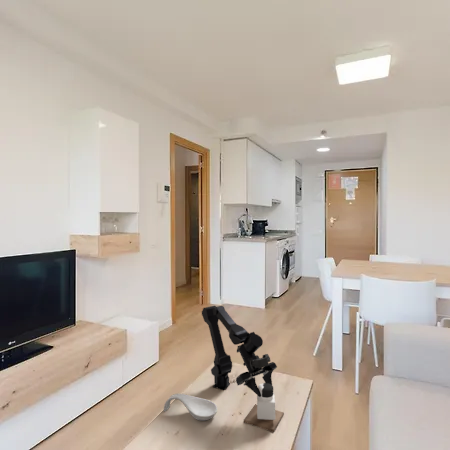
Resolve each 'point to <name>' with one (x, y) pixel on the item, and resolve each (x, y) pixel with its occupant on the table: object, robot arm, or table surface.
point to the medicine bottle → (266, 402)
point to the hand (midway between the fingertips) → (266, 393)
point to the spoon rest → (195, 406)
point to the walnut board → (263, 420)
